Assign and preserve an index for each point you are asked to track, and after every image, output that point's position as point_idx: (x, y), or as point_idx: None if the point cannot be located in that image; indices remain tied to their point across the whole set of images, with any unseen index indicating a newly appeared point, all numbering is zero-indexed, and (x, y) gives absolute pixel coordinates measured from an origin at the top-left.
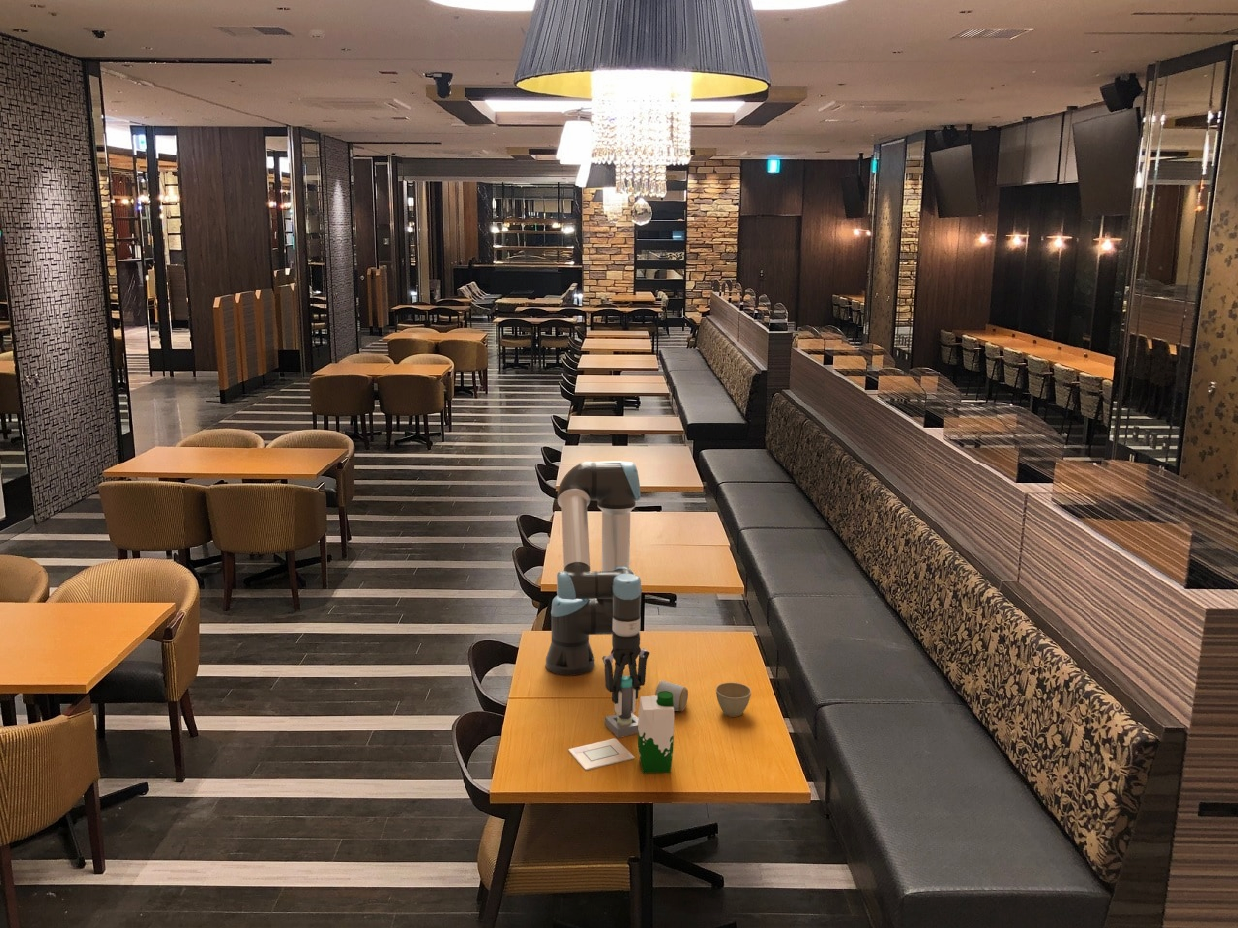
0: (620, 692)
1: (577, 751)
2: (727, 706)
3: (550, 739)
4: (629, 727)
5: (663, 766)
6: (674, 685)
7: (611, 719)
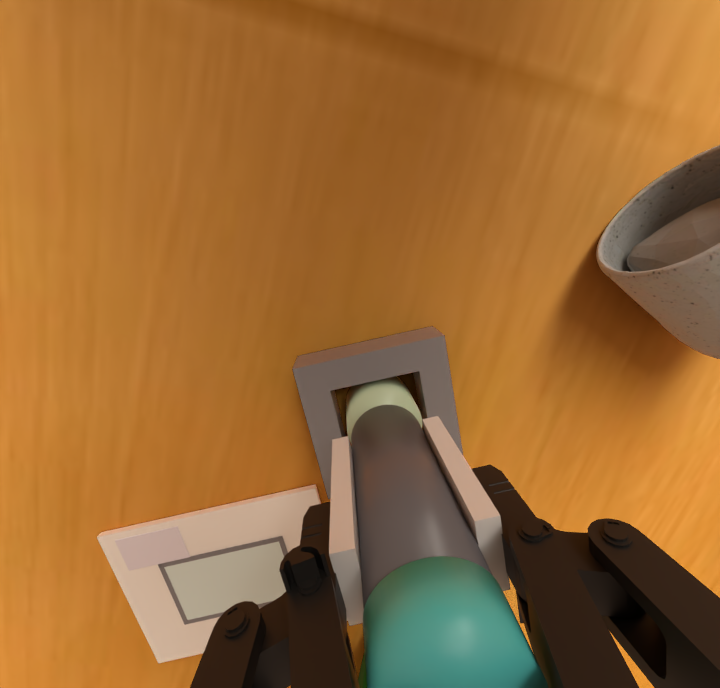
0: (363, 610)
1: (136, 558)
2: None
3: (20, 435)
4: None
5: None
6: None
7: (320, 402)
